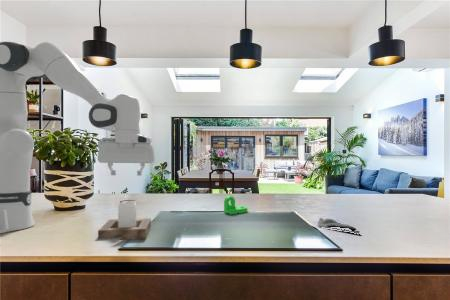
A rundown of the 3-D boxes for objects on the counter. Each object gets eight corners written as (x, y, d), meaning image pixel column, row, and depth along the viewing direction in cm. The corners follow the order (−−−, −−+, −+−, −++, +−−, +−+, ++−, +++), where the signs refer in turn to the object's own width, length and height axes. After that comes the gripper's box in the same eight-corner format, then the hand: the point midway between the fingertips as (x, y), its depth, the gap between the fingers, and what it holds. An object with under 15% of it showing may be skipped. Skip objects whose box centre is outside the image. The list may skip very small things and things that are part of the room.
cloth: (308, 219, 136) (308, 214, 136) (337, 219, 137) (337, 214, 137) (331, 236, 110) (331, 230, 110) (367, 235, 111) (367, 229, 111)
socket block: (98, 240, 101) (98, 230, 101) (109, 228, 117) (109, 219, 117) (146, 238, 104) (146, 228, 104) (150, 227, 119) (150, 218, 119)
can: (114, 234, 108) (114, 202, 108) (124, 230, 115) (124, 199, 115) (130, 235, 107) (131, 202, 107) (139, 231, 113) (139, 199, 113)
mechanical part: (231, 214, 144) (231, 198, 144) (224, 212, 149) (224, 196, 149) (249, 211, 151) (249, 196, 151) (242, 209, 156) (242, 194, 156)
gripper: (95, 137, 106) (94, 175, 106) (153, 138, 109) (153, 176, 108) (100, 138, 112) (99, 174, 112) (155, 139, 115) (154, 174, 115)
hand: (126, 175), depth 110 cm, fingers open, 8 cm apart
